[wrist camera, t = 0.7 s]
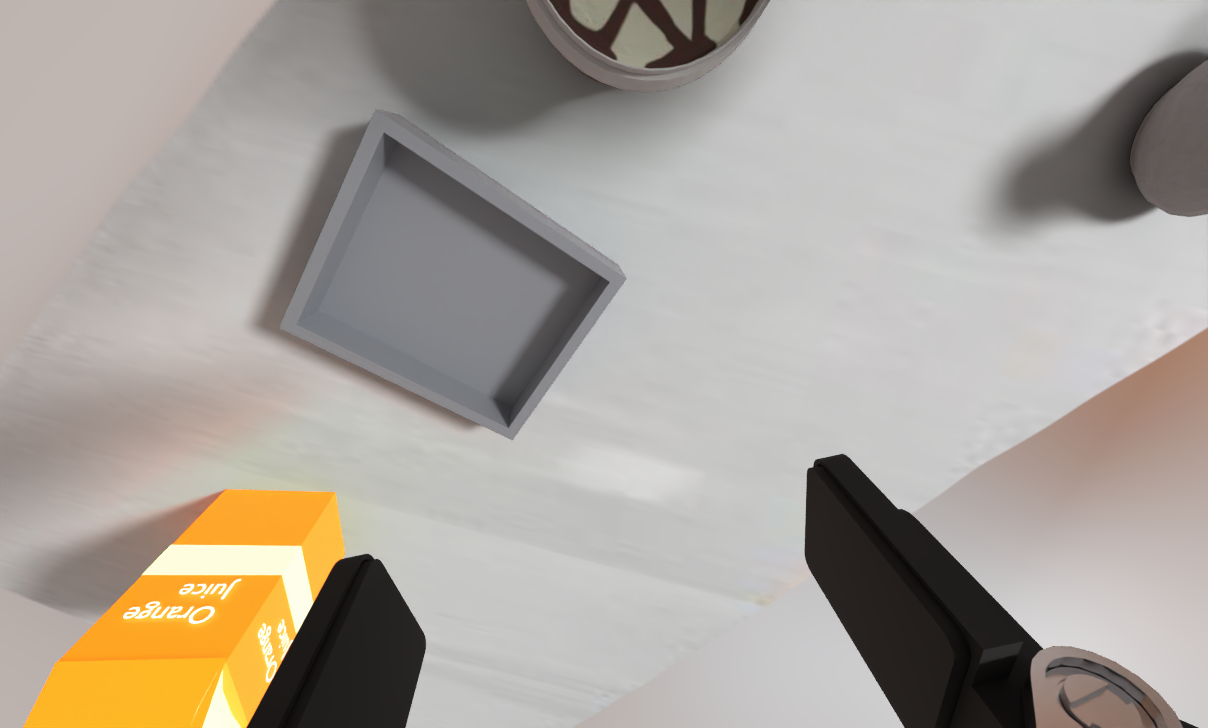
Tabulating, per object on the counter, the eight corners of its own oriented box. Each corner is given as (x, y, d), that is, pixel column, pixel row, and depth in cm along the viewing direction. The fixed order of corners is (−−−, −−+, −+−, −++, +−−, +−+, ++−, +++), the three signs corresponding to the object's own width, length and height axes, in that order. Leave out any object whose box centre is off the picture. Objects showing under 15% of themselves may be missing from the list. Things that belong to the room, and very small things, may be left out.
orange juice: (345, 554, 42) (192, 852, 24) (243, 554, 41) (0, 867, 23) (335, 490, 39) (150, 777, 21) (224, 487, 38) (-76, 790, 20)
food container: (493, 59, 27) (464, 11, 18) (521, -65, 25) (503, -190, 16) (675, 138, 30) (728, 131, 21) (714, 34, 28) (793, -25, 19)
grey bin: (398, 114, 28) (375, 108, 24) (618, 265, 33) (626, 278, 29) (309, 308, 32) (278, 328, 28) (516, 412, 38) (512, 440, 34)
